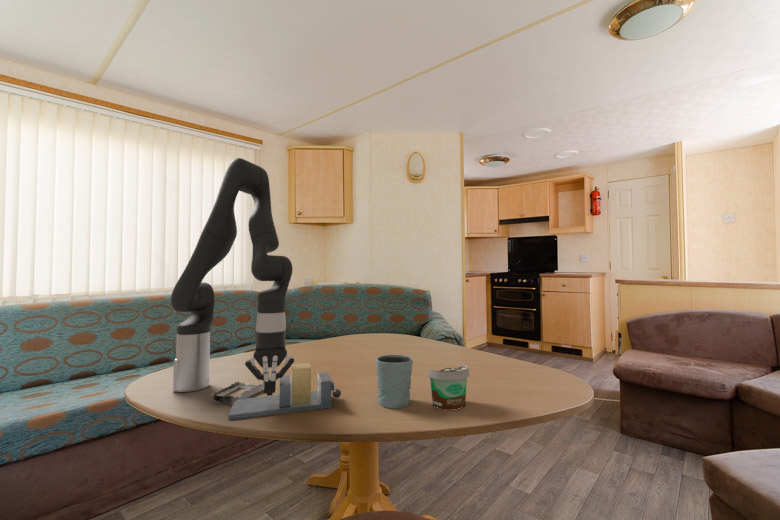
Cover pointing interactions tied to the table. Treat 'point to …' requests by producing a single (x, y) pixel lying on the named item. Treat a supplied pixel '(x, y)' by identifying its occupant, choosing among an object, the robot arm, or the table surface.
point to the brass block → (301, 382)
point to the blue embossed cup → (394, 380)
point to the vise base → (271, 406)
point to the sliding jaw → (285, 391)
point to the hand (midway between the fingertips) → (269, 394)
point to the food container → (449, 387)
